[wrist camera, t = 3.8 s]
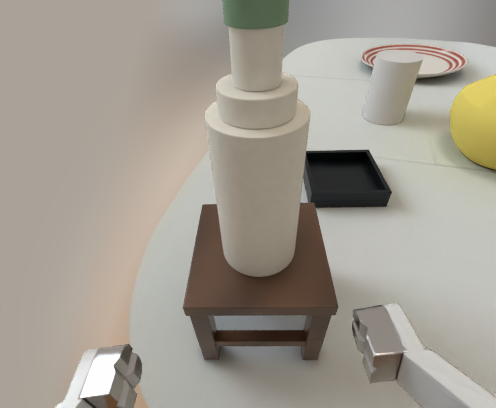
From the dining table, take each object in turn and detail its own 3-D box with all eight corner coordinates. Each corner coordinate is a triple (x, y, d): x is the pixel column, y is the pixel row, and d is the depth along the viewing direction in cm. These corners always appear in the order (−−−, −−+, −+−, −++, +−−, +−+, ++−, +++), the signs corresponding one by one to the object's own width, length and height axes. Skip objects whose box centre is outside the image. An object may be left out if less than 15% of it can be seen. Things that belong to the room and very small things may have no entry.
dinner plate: (380, 88, 75) (383, 74, 72) (346, 56, 95) (348, 45, 93) (486, 82, 75) (493, 68, 73) (430, 51, 96) (434, 40, 93)
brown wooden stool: (201, 362, 28) (182, 308, 21) (213, 265, 36) (202, 204, 29) (320, 362, 27) (338, 307, 21) (304, 264, 35) (314, 202, 29)
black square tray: (309, 207, 43) (311, 193, 41) (300, 164, 51) (301, 151, 49) (386, 206, 42) (391, 192, 41) (365, 163, 51) (368, 149, 49)
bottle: (220, 277, 23) (173, -9, 11) (225, 221, 27) (196, -24, 15) (298, 277, 23) (340, -15, 11) (291, 221, 27) (314, -29, 15)
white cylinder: (410, 117, 63) (432, 56, 55) (386, 128, 59) (406, 65, 51) (377, 104, 68) (393, 47, 60) (354, 114, 64) (367, 55, 56)
